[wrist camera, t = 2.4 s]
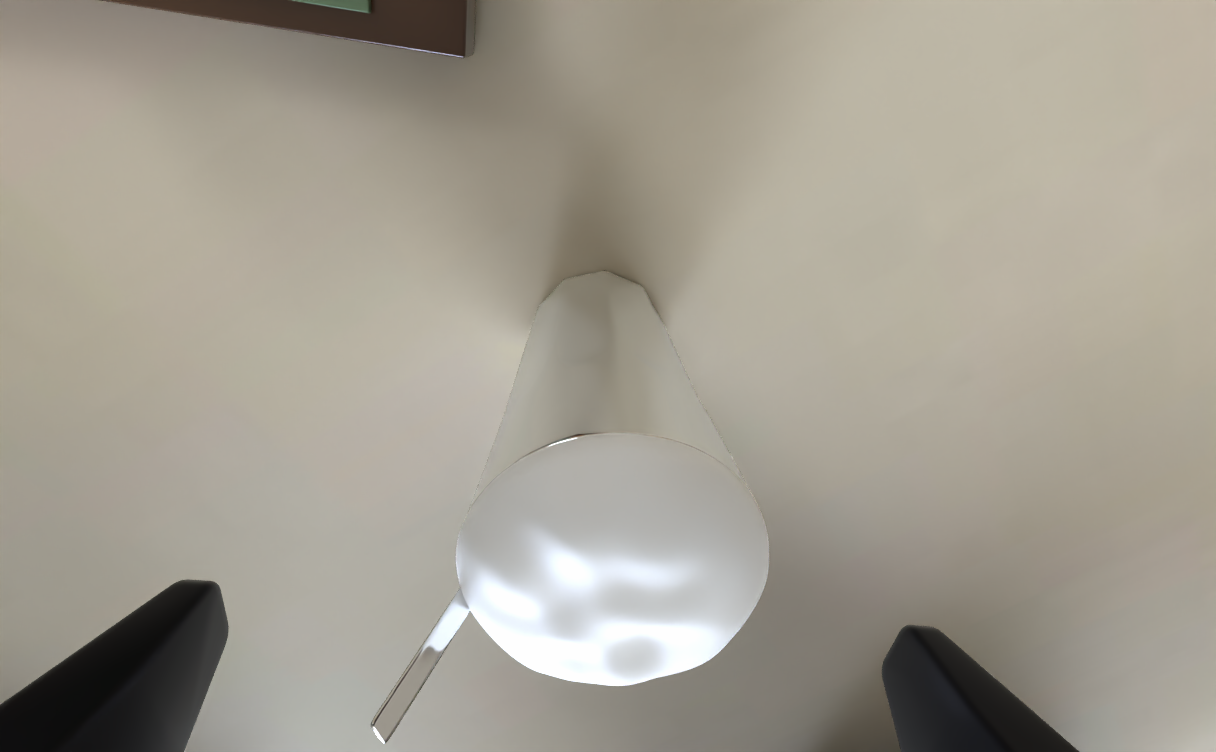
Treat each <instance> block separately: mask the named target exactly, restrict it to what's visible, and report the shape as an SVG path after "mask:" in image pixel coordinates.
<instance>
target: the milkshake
mask: <svg viewBox="0 0 1216 752" xmlns="http://www.w3.org/2000/svg"><path fill="white" fill-rule="evenodd" d="M456 569H457V575H458V580H459V584H460V588H459V590H458V591H457V593H456V594H455V596H454V597H453V599H452V600H451V602H450V603H449V605H448V606H447V608H446V609H445V611H444V612H443V614H442V615H441V617H440V618H439V620H438V621H437V623H436V624H435V626H434V627H433V629H432V631H431V632H430V634H429V635H428V637H427V638H426V640H425V641H424V643H423V644H422V646H421V647H420V649H419V650H418V652H417V653H416V655H415V656H414V658H413V659H412V661H411V662H410V664H409V665H408V667H407V668H406V670H405V671H404V673H403V674H402V676H401V677H400V679H399V680H398V682H397V683H396V685H395V686H394V688H393V689H392V691H391V692H390V694H389V695H388V697H387V698H386V700H385V701H384V703H383V704H382V706H381V707H380V709H379V710H378V712H377V714H376V715H375V717H374V718H373V720H372V722H371V727H372V729H373V731H374V732H375V734H376V735H377V736H378V738H379V739H380V741H381V742H382V743H384V744H385V743H386V742H387V741H388V740H389V739H390V737H391V736H392V734H393V732H394V731H395V729H396V728H397V726H398V725H399V723H400V721H401V720H402V718H403V717H404V715H405V713H406V712H407V710H408V709H409V707H410V706H411V704H412V702H413V701H414V699H415V698H416V696H417V694H418V693H419V691H420V690H421V688H422V686H423V685H424V683H425V682H426V680H427V678H428V677H429V675H430V674H431V672H432V670H433V669H434V667H435V666H436V664H437V663H438V661H439V659H440V658H441V656H442V655H443V653H444V651H445V650H446V648H447V647H448V645H449V643H450V642H451V640H452V639H453V637H454V635H455V634H456V632H457V631H458V629H459V627H460V626H461V624H462V623H463V621H464V620H465V618H466V616H467V615H468V613H469V612H470V610H471V612H472V614H473V615H474V617H475V618H476V619H477V621H478V622H479V623H480V625H481V626H482V627H483V628H484V630H485V631H486V632H487V633H488V634H489V635H490V636H491V637H492V639H493V640H494V641H495V642H496V643H497V644H498V645H499V646H500V647H501V648H502V649H504V650H505V651H506V652H507V653H508V654H509V655H510V656H512V657H513V658H514V659H516V660H517V661H518V662H520V663H522V664H523V665H525V666H526V667H528V668H530V669H532V670H534V671H537V672H540V673H543V674H547V675H550V676H553V677H557V678H560V679H564V680H569V681H575V682H582V683H593V684H601V685H609V686H626V685H632V684H637V683H641V682H644V681H647V680H650V679H654V678H658V677H663V676H667V675H672V674H676V673H680V672H683V671H686V670H689V669H692V668H694V667H697V666H699V665H701V664H703V663H705V662H707V661H708V660H710V659H711V658H713V657H714V656H715V655H716V654H718V653H719V652H720V651H721V650H722V649H723V648H724V647H725V646H726V645H727V643H728V642H729V641H730V640H731V639H732V638H733V637H734V635H735V634H736V633H737V632H738V631H739V630H740V628H741V627H742V626H743V624H744V623H745V622H746V620H747V619H748V617H749V616H750V614H751V613H752V611H753V610H754V608H755V606H756V604H757V603H758V601H759V599H760V597H761V594H762V592H763V589H764V587H765V584H766V580H767V575H768V569H769V540H768V533H767V529H766V525H765V522H764V518H763V515H762V513H761V510H760V508H759V506H758V504H757V502H756V500H755V498H754V496H753V494H752V492H751V491H750V489H749V487H748V485H747V483H746V481H745V479H744V478H743V476H742V474H741V472H740V470H739V468H738V466H737V465H736V463H735V461H734V459H733V457H732V455H731V454H730V452H729V450H728V448H727V446H726V444H725V443H724V441H723V439H722V437H721V435H720V433H719V432H718V430H717V428H716V426H715V424H714V422H713V421H712V419H711V417H710V415H709V414H708V412H707V410H706V409H705V407H704V406H703V404H702V403H701V401H700V400H699V398H698V395H697V393H696V391H695V389H694V387H693V385H692V383H691V381H690V378H689V376H688V374H687V372H686V370H685V368H684V366H683V364H682V361H681V359H680V357H679V355H678V353H677V351H676V349H675V346H674V344H673V342H672V340H671V338H670V336H669V334H668V332H667V329H666V327H665V325H664V323H663V321H662V319H661V317H660V316H659V314H658V312H657V311H656V309H655V307H654V306H653V304H652V302H651V300H650V299H649V297H648V295H647V293H646V291H645V290H644V288H643V286H641V285H639V284H636V283H634V282H631V281H629V280H627V279H624V278H622V277H619V276H617V275H615V274H612V273H610V272H608V271H605V270H604V271H599V272H595V273H590V274H585V275H580V276H576V277H571V278H566V279H564V280H563V281H562V282H561V283H560V284H559V285H558V286H557V287H556V289H555V290H554V291H553V292H552V293H551V294H550V295H549V296H548V297H547V298H546V299H545V300H544V301H543V303H542V304H541V305H540V306H539V307H538V308H537V311H536V314H535V317H534V320H533V323H532V326H531V329H530V333H529V336H528V339H527V342H526V345H525V348H524V352H523V355H522V358H521V361H520V364H519V367H518V371H517V374H516V377H515V380H514V383H513V387H512V390H511V393H510V396H509V399H508V403H507V406H506V409H505V412H504V415H503V418H502V421H501V424H500V427H499V430H498V432H497V435H496V438H495V441H494V443H493V446H492V449H491V451H490V454H489V457H488V459H487V462H486V465H485V468H484V470H483V473H482V476H481V478H480V481H479V484H478V486H477V489H476V492H475V494H474V497H473V500H472V503H471V505H470V508H469V511H468V513H467V516H466V518H465V520H464V522H463V524H462V526H461V529H460V532H459V536H458V540H457V546H456Z"/></svg>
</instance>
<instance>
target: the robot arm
mask: <svg viewBox="0 0 1216 752" xmlns="http://www.w3.org/2000/svg"><path fill="white" fill-rule="evenodd" d="M227 637H228V620H227V616H226V612H225V607H224V603H223V598H222V594H221V590H220V587H219V585H218V584H217V583H215V582H213V581H203V580H181V581H178V582H176V583H174V584H172V585H171V586H169V587H168V588H167V589H165V590H164V591H162V592H161V593H159V594H158V595H157V596H155V597H154V598H152V599H151V600H149V601H148V602H146V603H145V604H144V605H142V606H141V607H139V608H138V609H136V610H135V611H134V612H132V613H131V614H129V615H128V616H126V617H125V618H124V619H122V620H121V621H119V622H118V623H116V624H115V625H114V626H112V627H111V628H109V629H108V630H106V631H105V632H104V633H102V634H101V635H99V636H98V637H96V638H95V639H94V640H92V641H91V642H89V643H88V644H86V645H85V646H84V647H82V648H81V649H79V650H78V651H76V652H75V653H74V654H72V655H71V656H69V657H68V658H66V659H65V660H64V661H62V662H61V663H59V664H58V665H56V666H55V667H53V668H52V669H51V670H49V671H48V672H46V673H45V674H43V675H42V676H41V677H39V678H38V679H36V680H35V681H33V682H32V683H31V684H29V685H28V686H26V687H25V688H23V689H22V690H21V691H19V692H18V693H16V694H15V695H13V696H12V697H11V698H9V699H8V700H6V701H5V702H3V703H2V704H1V705H0V752H184V750H185V748H186V745H187V742H188V740H189V737H190V735H191V732H192V730H193V727H194V725H195V722H196V719H197V717H198V714H199V712H200V709H201V707H202V704H203V701H204V699H205V696H206V694H207V691H208V689H209V686H210V683H211V681H212V678H213V676H214V673H215V671H216V668H217V665H218V663H219V660H220V658H221V655H222V653H223V650H224V647H225V645H226V641H227ZM882 678H883V683H884V687H885V691H886V695H887V698H888V702H889V706H890V710H891V714H892V718H893V722H894V725H895V729H896V733H897V737H898V741H899V745H900V749H901V752H1079V751H1078V750H1077V749H1076V748H1075V747H1073V746H1072V745H1071V744H1070V743H1069V742H1068V741H1066V740H1065V739H1064V738H1063V737H1062V736H1061V735H1060V734H1058V733H1057V732H1056V731H1055V730H1054V729H1053V728H1052V727H1050V726H1049V725H1048V724H1047V723H1046V722H1045V721H1043V720H1042V719H1041V718H1040V717H1039V716H1038V715H1037V714H1035V713H1034V712H1033V711H1032V710H1031V709H1030V708H1029V707H1027V706H1026V705H1025V704H1024V703H1023V702H1022V701H1020V700H1019V699H1018V698H1017V697H1016V696H1015V695H1014V694H1012V693H1011V692H1010V691H1009V690H1008V689H1007V688H1006V687H1004V686H1003V685H1002V684H1001V683H1000V682H999V681H997V680H996V679H995V678H994V677H993V676H992V675H991V674H989V673H988V672H987V671H986V670H985V669H984V668H982V667H981V666H980V665H979V664H978V663H977V662H976V661H974V660H973V659H972V658H971V657H970V656H969V655H968V654H966V653H965V652H964V651H963V650H962V649H961V648H959V647H958V646H957V645H956V644H955V643H954V642H953V641H951V640H950V639H949V638H948V637H947V636H946V635H945V634H943V633H942V632H941V631H939V630H938V629H936V628H934V627H930V626H917V625H907V626H905V627H903V628H902V629H901V631H900V632H899V634H898V636H897V637H896V639H895V641H894V643H893V645H892V646H891V648H890V650H889V652H888V654H887V655H886V657H885V659H884V661H883V665H882Z"/></svg>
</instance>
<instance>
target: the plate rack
mask: <svg viewBox="0 0 1216 752" xmlns="http://www.w3.org/2000/svg"><path fill="white" fill-rule="evenodd" d="M101 1H107V2H113V3H120V4H126V5H132V6H139V7H145V8H151V9H157V10H164V11H170V12H176V13H183V14H189V15H195V16H201V17H208V18H214V19H220V20H227V21H233V22H239V23H246V24H252V25H258V26H264V27H271V28H277V29H283V30H290V31H296V32H302V33H308V34H315V35H321V36H327V37H334V38H340V39H346V40H352V41H359V42H365V43H371V44H378V45H384V46H390V47H396V48H403V49H409V50H415V51H422V52H428V53H434V54H441V55H447V56H453V57H459V58H465V57H468V56H470V55H473V54H474V37H475V10H476V0H101Z"/></svg>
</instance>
